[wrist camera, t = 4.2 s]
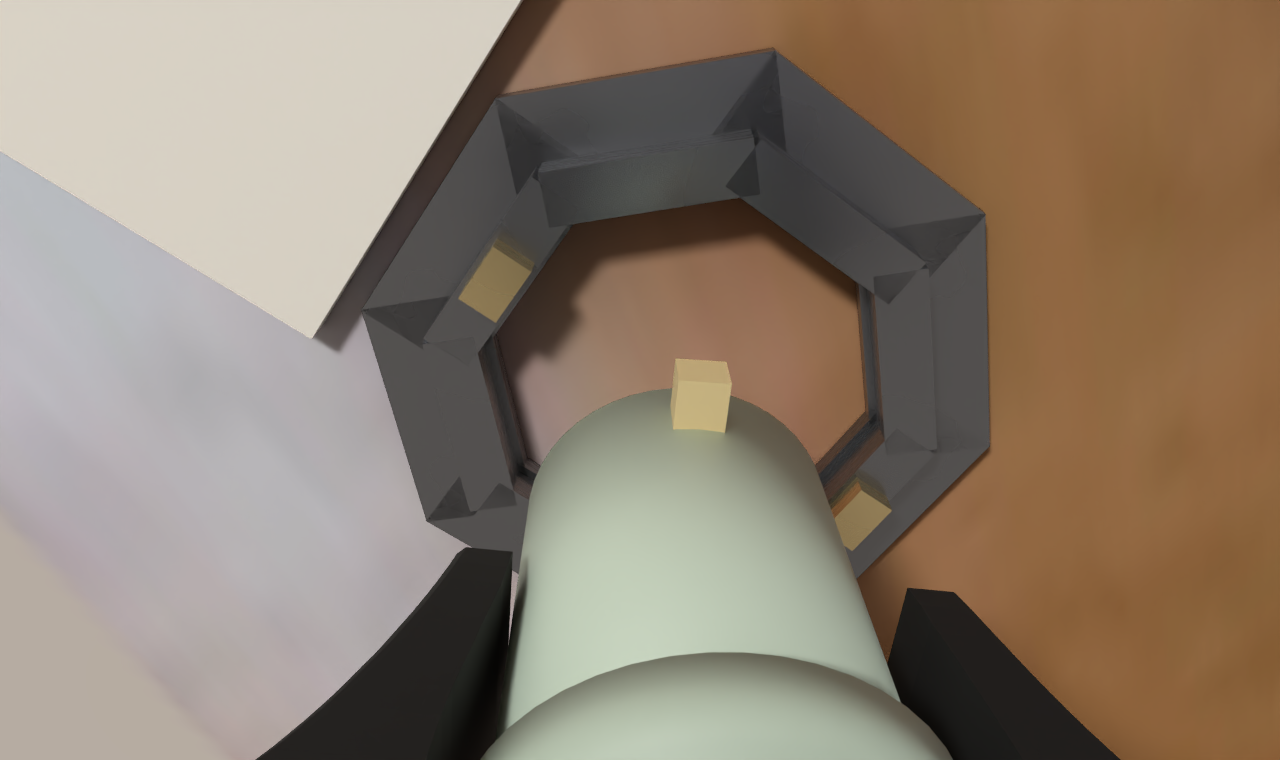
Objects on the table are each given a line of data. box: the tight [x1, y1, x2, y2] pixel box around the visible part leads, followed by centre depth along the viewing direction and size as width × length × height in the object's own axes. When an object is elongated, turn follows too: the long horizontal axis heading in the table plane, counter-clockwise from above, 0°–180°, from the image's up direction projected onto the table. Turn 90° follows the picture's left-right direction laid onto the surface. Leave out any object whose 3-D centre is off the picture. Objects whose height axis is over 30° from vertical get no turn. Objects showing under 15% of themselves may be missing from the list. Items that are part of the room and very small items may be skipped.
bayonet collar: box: [361, 47, 990, 579], centre depth 19 cm, size 12×12×2 cm
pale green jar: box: [480, 359, 953, 760], centre depth 12 cm, size 6×5×7 cm
